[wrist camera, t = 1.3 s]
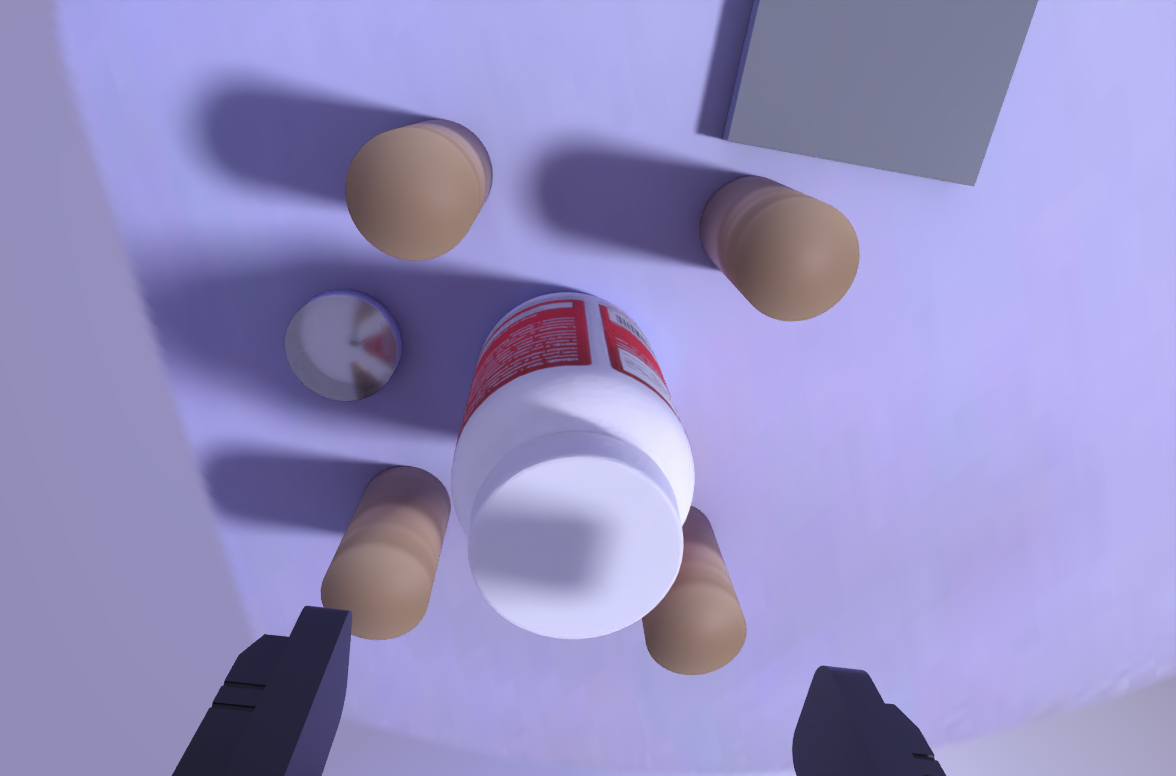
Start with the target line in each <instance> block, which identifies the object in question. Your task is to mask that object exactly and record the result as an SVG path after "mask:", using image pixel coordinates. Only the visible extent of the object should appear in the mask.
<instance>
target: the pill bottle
mask: <svg viewBox="0 0 1176 776" xmlns="http://www.w3.org/2000/svg"><path fill="white" fill-rule="evenodd" d="M694 483H695V474H694V462H693V457H692V453H691V449H690V445H689V441H688V437H687V435H686V432H685V430H684V428H683V426H682V423H681V420H680V418H679V416H678V413H677V411H676V408H675V406H674V403H673V401H672V398H671V395H670V393H669V391H668V388H667V386H666V383H665V380H664V378H663V375H662V373H661V370H660V367H659V365H658V362H657V360H656V357H655V355H654V352H653V350H652V348H651V345H650V343H649V341H648V339H647V338H646V336H645V334H644V333H643V331H642V330H641V328H640V327H639V326H638V325H637V323H636V322H635V321H634V320H633V319H632V318H631V317H630V316H629V315H628V314H626V313H625V312H624V311H623V310H621V309H620V308H618V307H617V306H615V305H614V304H612V303H610V302H608V301H606V300H603V299H601V298H598V297H595V296H592V295H587V294H583V293H573V292H562V293H552V294H546V295H542V296H539V297H536V298H533V299H530V300H528V301H526V302H524V303H522V304H520V305H519V306H517V307H515V308H514V309H513V310H511V311H510V312H509V313H507V314H506V315H505V316H504V317H503V318H502V319H501V320H500V321H499V322H498V323H497V324H496V326H495V327H494V328H493V329H492V331H491V332H490V334H489V335H488V337H487V339H486V341H485V343H484V345H483V347H482V350H481V353H480V355H479V358H478V362H477V365H476V369H475V373H474V378H473V381H472V385H471V389H470V393H469V397H468V401H467V405H466V409H465V412H464V417H463V421H462V425H461V429H460V432H459V436H458V440H457V444H456V449H455V454H454V460H453V466H452V475H451V487H452V497H453V502H454V506H455V510H456V513H457V516H458V519H459V521H460V523H461V526H462V528H463V529H464V531H465V533H466V535H467V536H468V538H469V539H468V558H469V564H470V568H471V572H472V575H473V578H474V580H475V582H476V585H477V587H478V589H479V590H480V592H481V594H482V595H483V597H484V598H485V600H486V601H487V602H488V603H489V604H490V605H491V606H492V608H493V609H494V610H496V611H497V612H498V613H499V614H500V615H501V616H503V617H504V618H505V619H507V620H508V621H510V622H511V623H513V624H515V625H516V626H518V627H520V628H522V629H524V630H527V631H530V632H533V633H536V634H538V635H542V636H548V637H552V638H560V639H583V638H591V637H597V636H602V635H606V634H609V633H612V632H615V631H617V630H620V629H622V628H624V627H626V626H629V625H631V624H633V623H634V622H636V621H638V620H639V619H641V618H642V617H644V616H645V615H646V614H648V613H649V612H650V611H651V610H652V609H653V608H655V607H656V606H657V604H658V603H659V602H660V601H661V600H662V599H663V598H664V597H665V595H666V594H667V592H668V591H669V589H670V588H671V586H672V584H673V583H674V581H675V579H676V577H677V574H678V572H679V569H680V565H681V562H682V556H683V531H682V526H683V524H684V522H685V520H686V518H687V515H688V512H689V509H690V506H691V502H692V497H693V492H694Z"/></svg>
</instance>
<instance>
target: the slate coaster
mask: <svg viewBox="0 0 1176 776" xmlns="http://www.w3.org/2000/svg"><path fill="white" fill-rule="evenodd" d="M1037 2H1038V0H754V1H753V6H752V10H751V14H750V19H749V23H748V28H747V32H746V37H745V41H744V45H743V50H742V54H741V59H740V63H739V68H738V72H737V76H736V81H735V85H734V90H733V94H732V98H731V103H730V107H729V112H728V116H727V121H726V125H725V129H724V134H723V138H722V139H723V140H726V141H731V142H736V143H742V144H747V145H752V146H758V147H763V148H769V149H774V150H780V151H785V152H790V153H796V154H801V155H807V156H812V157H818V158H823V159H828V160H834V161H839V162H845V163H850V164H856V165H861V166H866V167H872V168H877V169H883V170H888V171H893V172H899V173H904V174H910V175H915V176H921V177H926V178H931V179H937V180H942V181H948V182H953V183H959V184H964V185H969V186H974V185H975V182H976V179H977V176H978V174H979V171H980V168H981V165H982V162H983V159H984V156H985V153H986V150H987V147H988V144H989V142H990V139H991V136H992V133H993V130H994V127H995V124H996V121H997V118H998V115H999V113H1000V110H1001V107H1002V104H1003V101H1004V98H1005V95H1006V92H1007V89H1008V86H1009V84H1010V81H1011V78H1012V75H1013V72H1014V69H1015V66H1016V63H1017V60H1018V57H1019V55H1020V52H1021V49H1022V46H1023V43H1024V40H1025V37H1026V34H1027V31H1028V28H1029V25H1030V23H1031V20H1032V17H1033V14H1034V11H1035V8H1036V5H1037Z"/></svg>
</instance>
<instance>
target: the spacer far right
mask: <svg viewBox="0 0 1176 776" xmlns="http://www.w3.org/2000/svg"><path fill="white" fill-rule="evenodd" d="M682 531H683V556H682V562H681V565H680V569H679V572H678V574H677V577H676V579H675V581H674V583H673V584H672V586H671V588H670V589H669V591H668V592H667V594H666V595H665V597H664V598H663V599H662V600H661V601H660V602H659V603H658V604H657V606H656V607H655V608H653V609H652V610H651V611H650V612H649V613H648V614H646V615H645V616H644V617H642V622H643V628H644V634H645V640H646V645H647V649H648V651H649V653H650V655H651V656H652V658H653V659H654V660H655V661H656V662H657V663H658V664H659V665H661V666H662V667H664V668H665V669H667V670H669V671H672V672H675V673H678V674H684V675H699V674H705V673H709V672H712V671H715V670H717V669H719V668H721V667H723V666H725V665H726V664H728V663H729V662H730V661H731V660H733V659H734V657H735V656H736V655H737V654H738V653H739V651H740V650H741V648H742V646H743V644H744V642H745V638H746V630H747V629H746V622H745V619H744V616H743V613H742V610H741V607H740V605H739V602H738V599H737V596H736V594H735V591H734V588H733V585H732V582H731V580H730V577H729V574H728V571H727V568H726V566H725V563H724V560H723V557H722V555H721V552H720V549H719V546H718V543H717V541H716V538H715V535H714V532H713V529H712V527H711V524H710V522H709V520H708V519H707V517H706V516H705V515H704V514H703V513H702V512H701V511H700V510H698V509H697V508H695V507H693V506H690V509H689V512H688V515H687V518H686V520H685V522H684V524H683V526H682Z"/></svg>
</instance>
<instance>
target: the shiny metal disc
mask: <svg viewBox="0 0 1176 776" xmlns="http://www.w3.org/2000/svg"><path fill="white" fill-rule="evenodd" d="M285 352H286V357H287V360H288V363H289V365H290V367H291V369H292V371H293V372H294V374H295V375H296V376H297V378H298V379H299V380H300V381H301V382H302V383H303V384H304V385H305V386H306V387H308V388H309V389H310V390H312V391H313V392H315V393H317V394H319V395H321V396H323V397H326V398H329V399H333V400H338V401H355V400H360V399H363V398H366V397H369V396H371V395H373V394H375V393H376V392H378V391H379V390H380V389H381V388H383V387H384V385H385V384H386V383H387V382H388V381H389V379H390V378H391V376H392V374H393V372H394V371H395V369H396V367H397V365H398V363H399V361H400V357H401V353H402V336H401V332H400V329H399V326H398V324H397V322H396V320H395V318H394V316H393V315H392V314H391V312H390V311H389V310H388V309H387V308H386V307H385V306H384V305H383V304H382V303H381V302H379V301H378V300H376V299H375V298H373V297H372V296H370V295H368V294H365V293H362V292H360V291H355V290H349V289H336V290H330V291H327V292H324V293H321V294H319V295H317V296H316V297H314V298H313V299H311V300H310V301H309V302H308V303H307V304H305V305H304V306H303V307H302V308H301V309H300V310H299V311H298V312H297V313H296V314H295V315H294V316H293V318H292V319H291V321H290V323H289V325H288V328H287V331H286V335H285Z"/></svg>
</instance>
